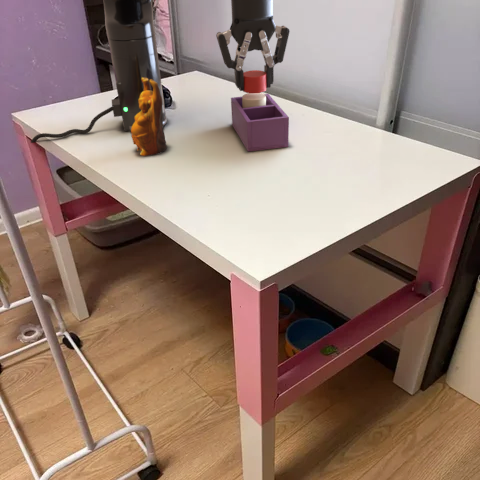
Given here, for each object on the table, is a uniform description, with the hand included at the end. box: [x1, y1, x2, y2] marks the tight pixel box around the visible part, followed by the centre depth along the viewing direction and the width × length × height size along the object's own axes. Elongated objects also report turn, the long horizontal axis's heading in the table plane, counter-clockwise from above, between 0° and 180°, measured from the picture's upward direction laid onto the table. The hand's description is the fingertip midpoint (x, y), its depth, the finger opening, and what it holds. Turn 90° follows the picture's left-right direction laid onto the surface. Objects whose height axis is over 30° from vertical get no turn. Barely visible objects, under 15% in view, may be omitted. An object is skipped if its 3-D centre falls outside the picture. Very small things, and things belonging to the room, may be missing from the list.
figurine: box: [130, 78, 168, 157], centre depth 95 cm, size 6×7×13 cm
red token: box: [242, 69, 268, 94], centre depth 100 cm, size 5×5×3 cm
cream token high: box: [241, 92, 266, 108], centre depth 103 cm, size 5×5×3 cm
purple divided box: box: [230, 93, 290, 153], centre depth 102 cm, size 8×15×6 cm, turn 12°
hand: (254, 87), depth 101 cm, fingers closed on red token, 4 cm apart
